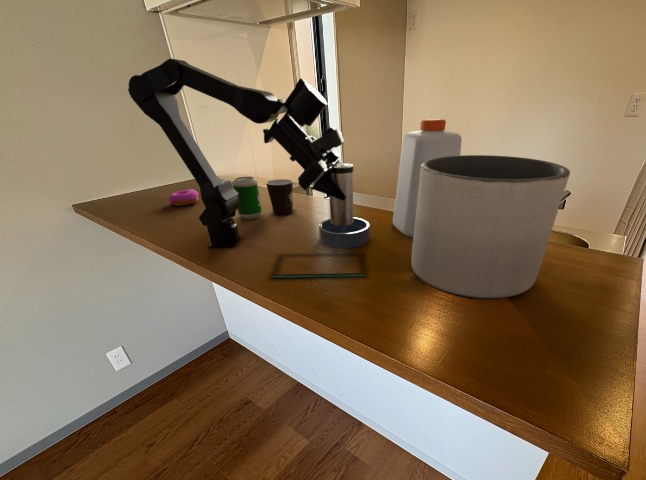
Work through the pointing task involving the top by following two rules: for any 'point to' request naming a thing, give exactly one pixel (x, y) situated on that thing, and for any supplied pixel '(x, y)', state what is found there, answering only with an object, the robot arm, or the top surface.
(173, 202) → the donut
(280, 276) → the mat
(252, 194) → the soda can
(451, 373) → the top surface
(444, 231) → the planter
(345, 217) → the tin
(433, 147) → the plastic bottle
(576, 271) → the top surface
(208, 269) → the top surface
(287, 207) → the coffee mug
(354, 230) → the blue bowl
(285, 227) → the top surface
